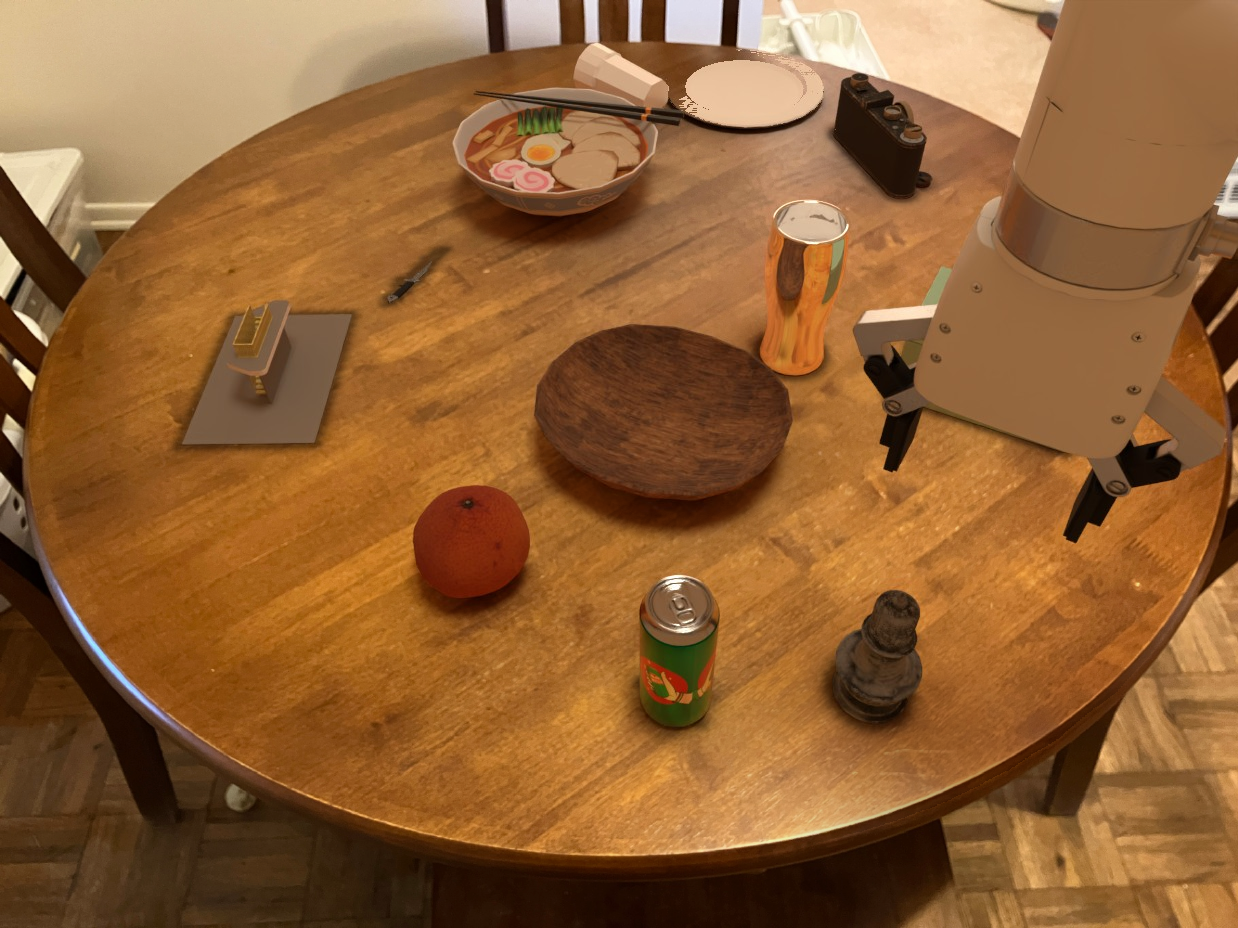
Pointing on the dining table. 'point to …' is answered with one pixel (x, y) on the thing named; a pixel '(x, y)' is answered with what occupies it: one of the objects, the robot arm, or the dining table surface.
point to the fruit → (471, 541)
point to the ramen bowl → (558, 148)
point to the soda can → (677, 650)
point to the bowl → (663, 411)
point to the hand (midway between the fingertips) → (983, 487)
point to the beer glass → (802, 282)
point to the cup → (618, 77)
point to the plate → (751, 93)
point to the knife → (407, 285)
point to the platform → (270, 378)
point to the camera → (881, 136)
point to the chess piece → (880, 661)
